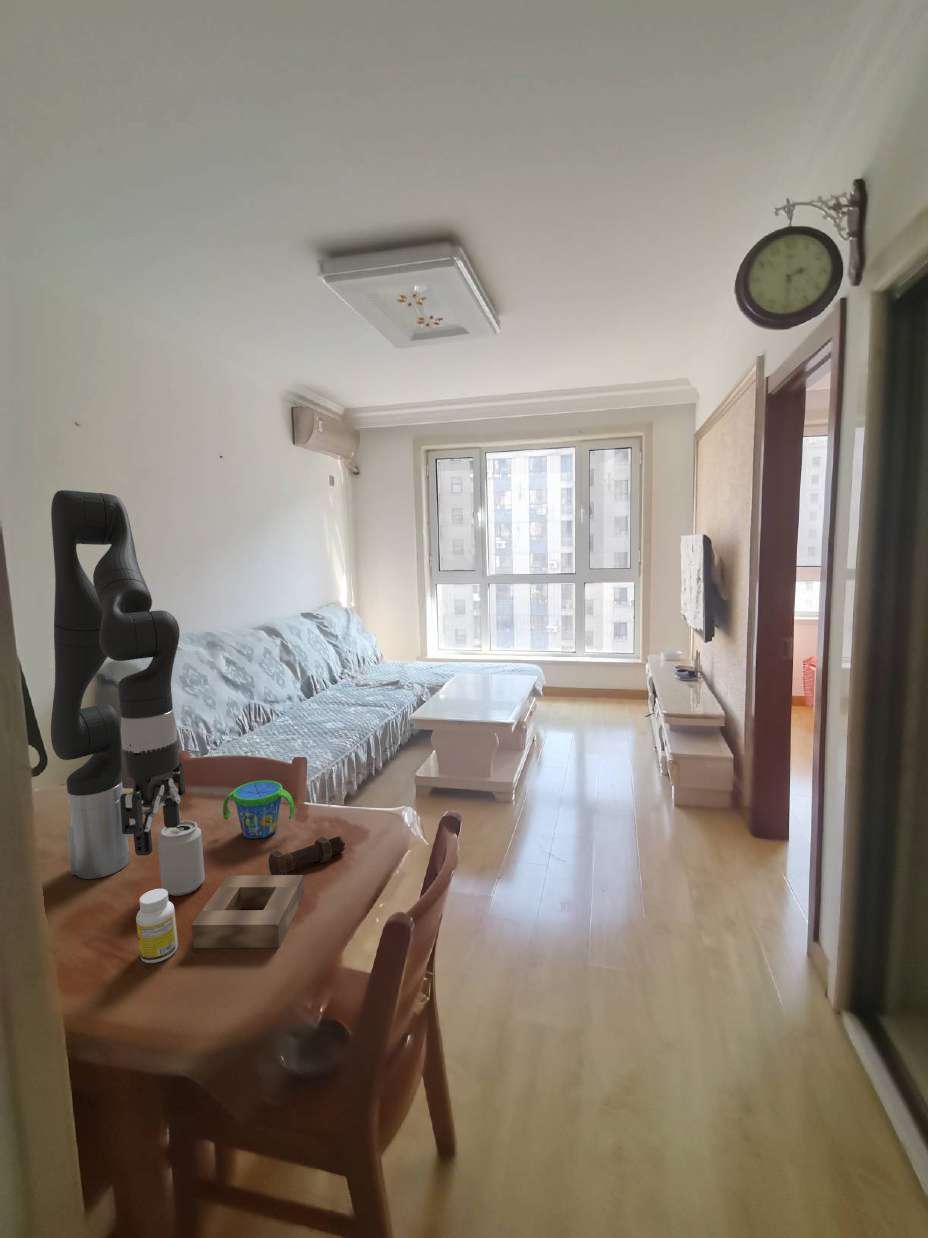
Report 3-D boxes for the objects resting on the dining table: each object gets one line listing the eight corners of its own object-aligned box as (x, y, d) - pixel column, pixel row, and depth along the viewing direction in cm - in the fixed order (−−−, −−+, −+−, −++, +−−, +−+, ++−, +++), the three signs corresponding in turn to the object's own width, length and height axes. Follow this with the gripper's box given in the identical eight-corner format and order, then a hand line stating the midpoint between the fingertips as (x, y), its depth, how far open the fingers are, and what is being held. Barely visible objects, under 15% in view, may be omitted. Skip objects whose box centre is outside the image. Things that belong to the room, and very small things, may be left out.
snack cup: (302, 822, 136) (300, 780, 134) (283, 845, 125) (280, 800, 124) (239, 819, 137) (236, 778, 136) (215, 842, 127) (212, 798, 126)
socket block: (193, 948, 94) (191, 925, 93) (229, 895, 107) (227, 875, 107) (279, 947, 93) (277, 924, 93) (304, 895, 107) (303, 875, 107)
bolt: (344, 861, 122) (275, 887, 112) (333, 842, 125) (266, 866, 115) (351, 844, 119) (281, 869, 110) (340, 824, 122) (271, 847, 113)
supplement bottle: (149, 942, 95) (144, 886, 94) (183, 940, 96) (178, 884, 94) (133, 966, 90) (127, 907, 88) (169, 963, 90) (164, 905, 89)
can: (214, 879, 113) (209, 821, 111) (184, 901, 106) (178, 840, 104) (183, 872, 115) (179, 815, 114) (152, 894, 108) (147, 833, 107)
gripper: (150, 726, 96) (158, 819, 98) (96, 758, 82) (107, 865, 84) (195, 726, 96) (202, 818, 98) (149, 757, 82) (159, 864, 84)
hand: (158, 840), depth 91 cm, fingers open, 8 cm apart
